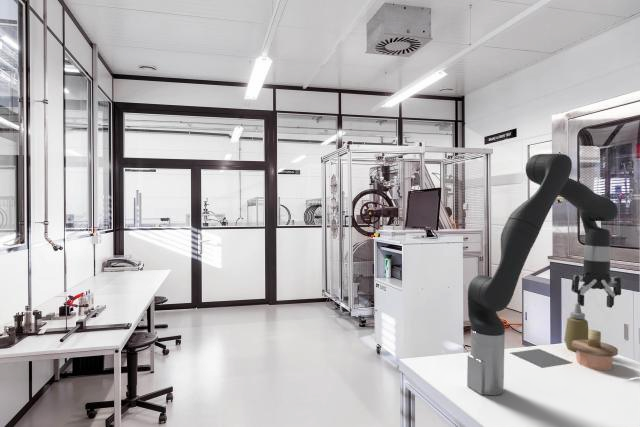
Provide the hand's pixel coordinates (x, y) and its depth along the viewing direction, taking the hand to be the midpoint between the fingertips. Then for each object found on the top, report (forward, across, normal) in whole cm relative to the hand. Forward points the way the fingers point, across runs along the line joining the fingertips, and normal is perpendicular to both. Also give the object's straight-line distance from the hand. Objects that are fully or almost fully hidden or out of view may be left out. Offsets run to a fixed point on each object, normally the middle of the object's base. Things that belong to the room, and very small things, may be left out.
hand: (595, 306), depth 137 cm
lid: (+15, 0, 0) cm, 15 cm away
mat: (+20, -16, +2) cm, 26 cm away
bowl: (+20, 0, 0) cm, 20 cm away
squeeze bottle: (+20, 0, +14) cm, 25 cm away
